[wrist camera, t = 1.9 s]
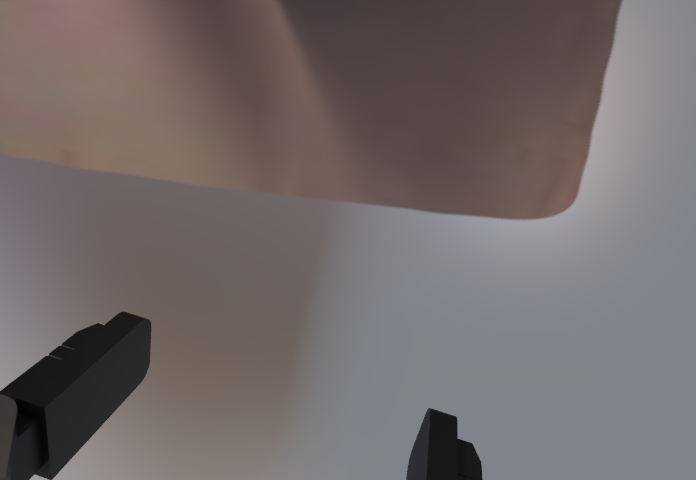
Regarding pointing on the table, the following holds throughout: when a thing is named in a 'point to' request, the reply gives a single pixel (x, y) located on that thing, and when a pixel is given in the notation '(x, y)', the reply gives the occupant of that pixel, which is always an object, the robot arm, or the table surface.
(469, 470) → the robot arm
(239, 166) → the table surface
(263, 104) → the table surface
